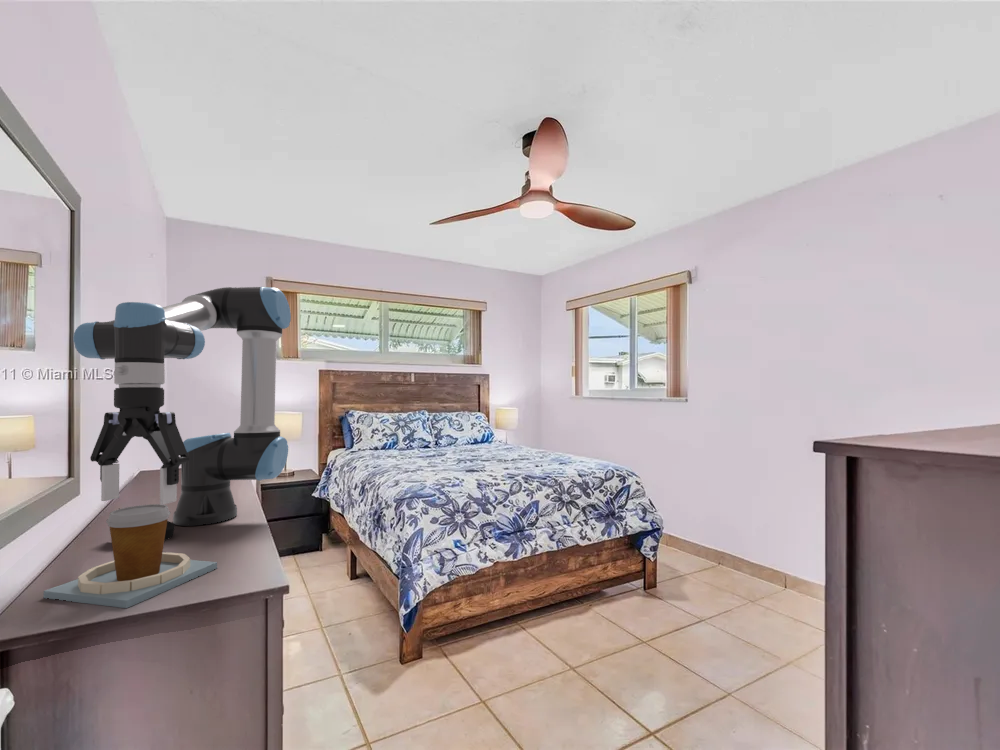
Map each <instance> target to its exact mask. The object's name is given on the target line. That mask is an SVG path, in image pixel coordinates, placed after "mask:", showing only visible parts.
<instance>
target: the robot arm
mask: <svg viewBox="0 0 1000 750" xmlns="http://www.w3.org/2000/svg"><path fill="white" fill-rule="evenodd" d="M291 314H292V313H291V308H290V305H289V301H288V300H287V297H286V295H285V293H284V292H282V291H281V289H279V288H277V287H266V286H249V287H248V286H247V287H246V286H245V287H243V286H241V287H237V286H236V287H229V286H228V287H227V286H226V287H220V288H218V287H217V288H215V289H210V290H207V291H202V292H199V293H195V294H192V295H188V296H186V297H185V298H183V299H182V300H181V302H177V303H174V304H170V305H166V306H163V307H162V305H159V304H156V303H150V302H149V303H148V302H136V301H135V302H134V301H130V302H129V301H127V302H120V303H119V304H117V305H116V307H115V314H114V320H110V321H102V322H101V321H97V320H96V321H94V322H93V321H92V322H84V323H82V324H80V325H79V326H77V327H76V328H75V331H74V333H73V337H72V338H73V339H72V340H73V343H74V348H75V349H76V351H77V352H78V354H80V355H81V356H83V357H84V358H87V359H97V360H99V359H100V360H106V359H107V360H108V359H109V360H110V359H114V377H113V378H114V384H115V385H116V386H117V385H118V387H115V389H113V406H114V407H115V408H116V409H119V411H116V412H115V411H113V412H112V411H111V412H105V413H104V417H103V424H102V427H101V430H100V432H99V435H98V438H97V440H96V442H95V444H94V448H93V450H92V452H91V455H90V458H89V459H90V461H91V462H96V463H97V465H99V466H100V469H99V470H100V473H99V474H100V475H99V477H100V478H99V479H100V482H101V485H100V487H101V488H100V489H101V491H100V493H101V495H100V498H101V499H100V500H101V502H107V501H112V500H116V499H119V498H120V463H119V462H120V461H119V460H118V459H119V457H120V456H121V455H122V453H123V451H124V450H125V449H126V447H127V446H128V444H129V443H130V441H131V440H132V438H134V437H137V438H143V439H144V440H146V441H147V442H148V443H149V445H150V446H151V448H152V449H153V451H154V452H155V454H156V455H157V457H158V459H160V461H161V463H162V466H161V467H160V468H159V504H161V505H168V504H171V503H174V502H177V501H178V502H177V506H176V509H175V511H174V512H173V514H172V523H173V524H174V525H175V526H180V527H181V526H184V527H185V526H187V527H189V526H192V527H193V526H195V527H196V526H204V525H203V524H206V525H210V524H211V523H212V524H216V523H217V522H218V523H221V521H222V522H226V521H229V520H232V519H234V518H236V517H237V516H238V506H237V505H236V504H235V503H236V502H235V499H234V497H233V493H232V490H231V481H252V480H253V481H263V480H273V479H275V478H277V477H278V476H280V474H281V473H282V472H283V470H284V468H285V466H286V463H287V460H288V456H289V445H288V441H287V439H286V438H285V437H284V436H281V429H279V427H277V426H276V424H275V423H276V422H275V421H276V420H275V419H276V418H275V416H276V410H275V409H276V375H277V374H276V373H277V371H276V369H277V368H276V367H277V341H278V340H279V339H280V338H281V337H283V330H285V329H287V328H289V327H290V326H291V325H290V324H291V320H292V319H291V318H292V317H291V316H292V315H291ZM210 329H235V330H236V334H237V335H238V336H239V337H240V338H241V340H242V343H241V344H242V345H241V347H242V349H241V350H242V351H241V354H242V355H241V383H240V384H241V387H240V388H241V390H240V420H239V421H240V424H239V426H238V427H237V428H236V429H235V430H234V431H233V437H232V434H231V433H230V432H223V433H215V434H209V435H208V434H207V435H203V436H196V437H190V438H186V439H185V440H184V441H183V439H182V436H181V433H180V430H179V427H178V426H177V421H176V414H175V412H173V411H167V412H165V411H164V412H161V411H160V408H161V407H164V405H165V388H163V387H161V385H164V384H165V383H166V382H165V380H166V379H165V374H166V373H165V359H177V360H189V359H191V360H192V359H193V358H196V357H198V356H199V355H200V354H201V353H202V352H203V351H204V349H205V345H206V340H205V336H204V334H203V332H202V331H206V330H210ZM180 466H181V467H180ZM180 470H181V471H180ZM180 473H181V475H180ZM179 475H180V476H179ZM179 477H180V478H181V480H180V478H179ZM180 481H181V482H180ZM179 482H180V483H181V484H180V486H181V487H180V489H181V490H180V496H179V499H178V500H177V497H178V495H177V493H178V486H177V485H178V484H179ZM236 515H237V516H236ZM235 516H236V517H235ZM233 517H234V518H233ZM231 518H232V519H231ZM228 519H229V520H228ZM225 520H226V521H225ZM218 523H217V524H218Z"/></svg>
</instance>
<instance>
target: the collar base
mask: <svg viewBox="0 0 1000 750" xmlns="http://www.w3.org/2000/svg"><path fill="white" fill-rule="evenodd" d="M214 569H215V570H217V569H218V561H208V560H197V559H196V560H195V559H191V558H190V557H189V556H188V555H187V554H185V553H180V552H178V553H177V552H166V551H165V552H162V559H161V565H160V572H159V573H158V574H156V575H151V576H147V577H143V578H138V579H134V580H128V581H118V580H117V576H116V569H115V562H114V560H111V561H108V562H105V563H102V564H100V565H97V566H93V567H92V568H89V569H87V570H86V571H84V572H83V573H81V574H80V575H78V576H77V578H76V579H73V580H70V581H68V582H65V583H62V584H60V585H57V586H54V587H51V588H48V589H45V590H43V596H42V597H43V599H47V598H49V599H48V600H55V599H59V600H58V601H63V600H66V601H65V602H71V601H72V602H73V603H80V604H81V603H82V604H89V605H96V606H105V607H114V608H122V609H128V608H130V607H132V606H135V605H137V604H140V603H142V602H144V601H146V600H148V599H151V598H153V597H156V596H157V595H160V594H162V593H165V592H167V591H169V590H171V589H173V588H176V587H179V586H180V585H182V584H185V583H187V582H190V581H191V579H192V580H193V579H196V578H199V577H201V576H203V575H205V574H208V573H210V572H212V571H215V570H214ZM207 572H208V573H207ZM198 576H199V577H198ZM189 580H190V581H189Z"/></svg>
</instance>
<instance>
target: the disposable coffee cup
mask: <svg viewBox="0 0 1000 750" xmlns="http://www.w3.org/2000/svg"><path fill="white" fill-rule="evenodd" d="M171 512H172V511H170V509H169V507H168V504H164V505H161V504H160V503H159V504H158V503H156V504H155V503H153V504H151V503H150V504H141V505H133V506H127V507H121V508H120V509H119V508H118V509H115V510H113V511H112V510H111V511H110V512H109V515H108V518H107V519H106V521H105V522H106V524H107V526H108V527H109V531H110V532H109V533H110V541H111V547H112V555H113V561H114V562H115V569H116V576H117V580H118V581H128V580H134V579H138V578H143V577H147V576H151V575H156V574H158V573H159V572H160V565H161V559H162V553H164V543H165V540H164V539H165V533H166V527H167V521H168V519H169V518H170V515H171Z"/></svg>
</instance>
